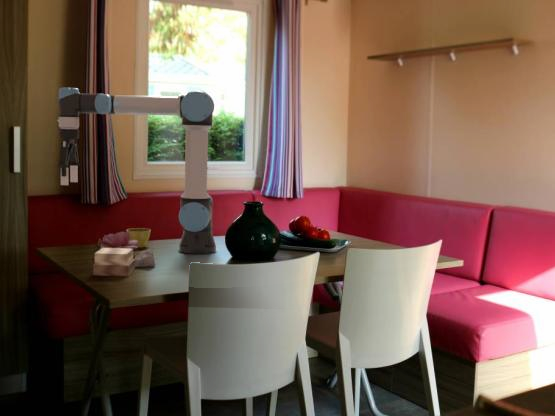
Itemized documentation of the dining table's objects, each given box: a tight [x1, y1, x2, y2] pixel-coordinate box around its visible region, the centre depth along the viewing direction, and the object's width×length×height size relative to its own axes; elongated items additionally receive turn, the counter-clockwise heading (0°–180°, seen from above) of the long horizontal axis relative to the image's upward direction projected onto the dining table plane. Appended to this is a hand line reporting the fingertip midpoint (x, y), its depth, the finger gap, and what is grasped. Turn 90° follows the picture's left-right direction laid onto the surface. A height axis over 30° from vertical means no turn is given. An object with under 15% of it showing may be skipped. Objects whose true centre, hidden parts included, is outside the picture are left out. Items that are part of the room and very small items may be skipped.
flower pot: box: [125, 227, 151, 249], centre depth 306 cm, size 10×10×7 cm
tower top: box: [94, 248, 134, 266], centre depth 253 cm, size 11×11×4 cm
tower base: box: [92, 258, 136, 277], centre depth 254 cm, size 12×12×4 cm
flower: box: [97, 231, 138, 252], centre depth 283 cm, size 15×15×10 cm
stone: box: [133, 248, 156, 268], centre depth 267 cm, size 8×10×6 cm
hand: (69, 183), depth 282 cm, fingers open, 13 cm apart
